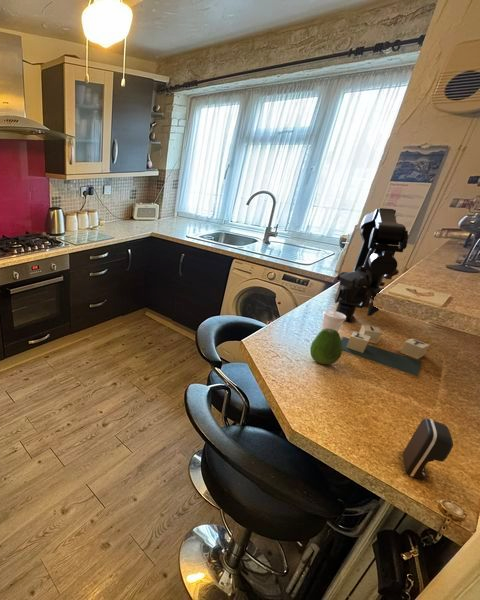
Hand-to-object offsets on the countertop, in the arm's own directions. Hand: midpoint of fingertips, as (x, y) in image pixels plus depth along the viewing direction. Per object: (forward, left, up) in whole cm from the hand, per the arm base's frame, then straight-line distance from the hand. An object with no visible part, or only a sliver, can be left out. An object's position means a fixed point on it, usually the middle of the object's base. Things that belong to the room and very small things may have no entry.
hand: (357, 309), depth 107 cm
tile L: (+3, +4, -12) cm, 13 cm away
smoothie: (+3, -5, -13) cm, 14 cm away
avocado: (+21, -2, -13) cm, 25 cm away
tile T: (-6, +17, -13) cm, 22 cm away
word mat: (+3, +9, -13) cm, 16 cm away
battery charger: (+50, +22, -13) cm, 56 cm away
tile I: (-7, +5, -13) cm, 15 cm away
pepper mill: (-44, -4, -13) cm, 46 cm away
